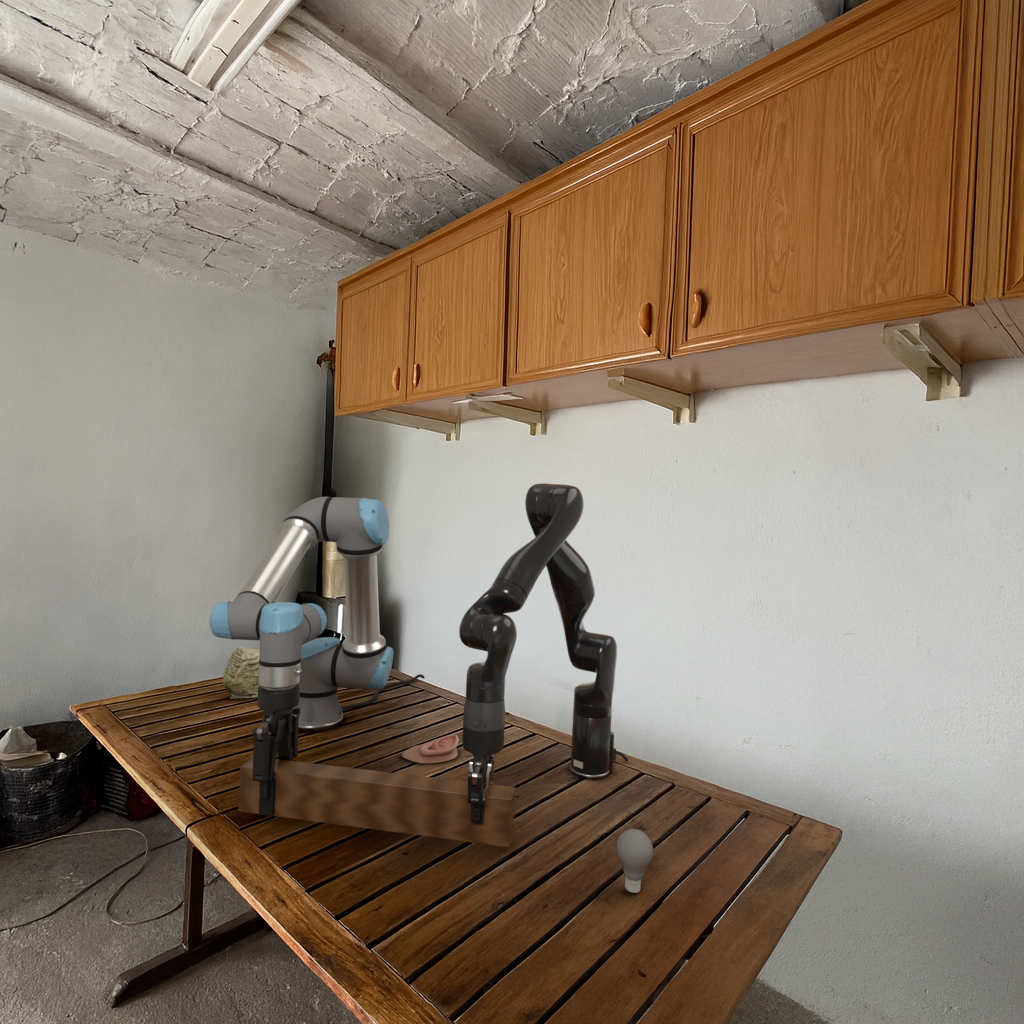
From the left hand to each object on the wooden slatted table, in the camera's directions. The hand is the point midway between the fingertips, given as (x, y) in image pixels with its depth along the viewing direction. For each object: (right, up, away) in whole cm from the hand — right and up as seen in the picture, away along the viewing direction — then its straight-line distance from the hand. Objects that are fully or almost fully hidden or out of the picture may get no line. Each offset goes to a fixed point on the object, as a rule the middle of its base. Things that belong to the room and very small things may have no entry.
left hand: (274, 806), depth 121 cm
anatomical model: (+25, -4, +37) cm, 45 cm away
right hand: (+40, +1, -6) cm, 40 cm away
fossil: (-35, -1, +77) cm, 85 cm away
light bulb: (+65, -7, -15) cm, 68 cm away
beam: (+20, -2, -3) cm, 20 cm away
